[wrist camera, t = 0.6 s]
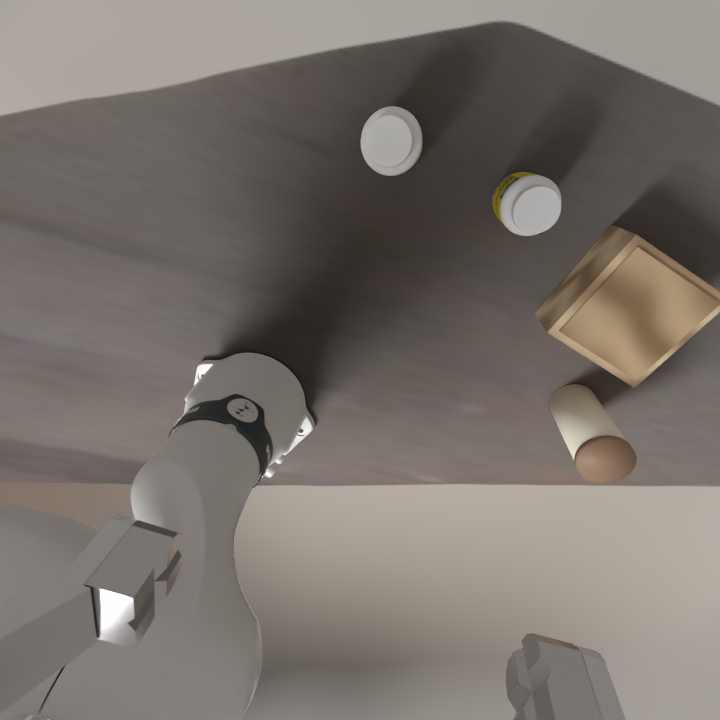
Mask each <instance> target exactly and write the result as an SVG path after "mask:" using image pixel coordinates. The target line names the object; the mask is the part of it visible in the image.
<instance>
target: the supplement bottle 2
mask: <svg viewBox="0 0 720 720" xmlns="http://www.w3.org/2000/svg"><path fill="white" fill-rule="evenodd" d="M492 207H493V211H494V213H495V215H496V217H497V218H498V219H499V220H500V221H501V222H502V224H503V225H504V226H505V227H506V228H507V229H508V230H510V231H511V232H513V233H515V234H517V235H521V236H532V235H536V234H539V233H541V232H544V231H546V230H548V229H549V228H551V227H552V226H553V225H554V224H555V222H556V221H557V219H558V218H559V216H560V213H561V194H560V191H559V189H558V187H557V186H556V184H555V183H554V182H553V181H551V180H550V179H548V178H546V177H544V176H541V175H537V174H534V173H529V172H516V173H512V174H510V175H508V176H507V177H505V178H504V179H503V180H502V181H501V182H500V183H499V184H498V185H497V187H496V189H495V191H494V193H493V197H492Z"/></svg>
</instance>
